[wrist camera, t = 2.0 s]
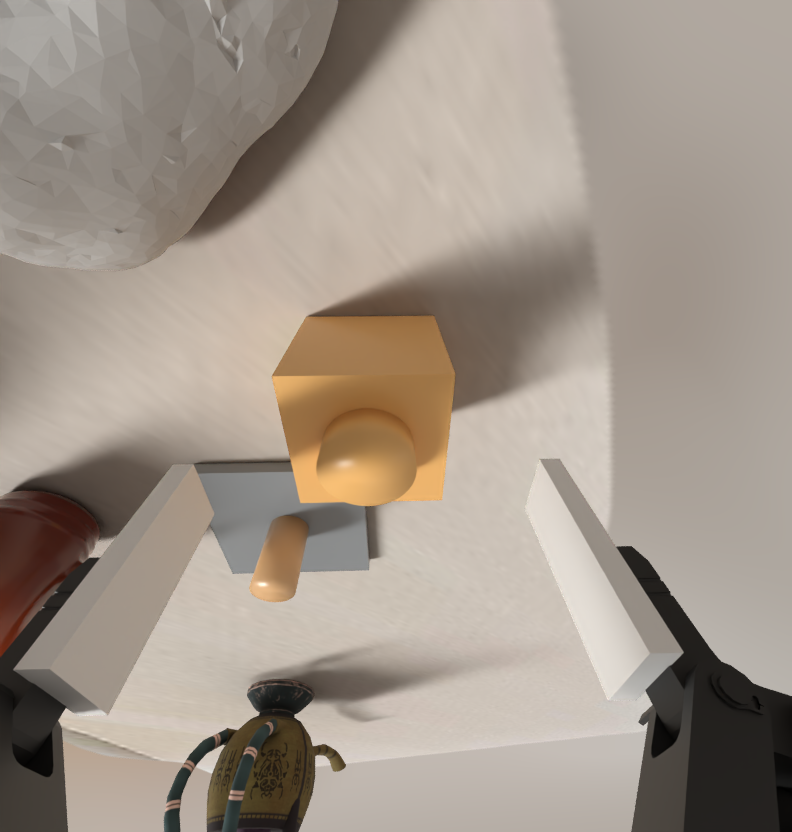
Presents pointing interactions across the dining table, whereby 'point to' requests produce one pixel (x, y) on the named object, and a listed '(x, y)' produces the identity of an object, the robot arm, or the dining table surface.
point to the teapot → (259, 766)
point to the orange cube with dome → (366, 408)
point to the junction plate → (276, 498)
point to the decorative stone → (137, 116)
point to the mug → (38, 553)
